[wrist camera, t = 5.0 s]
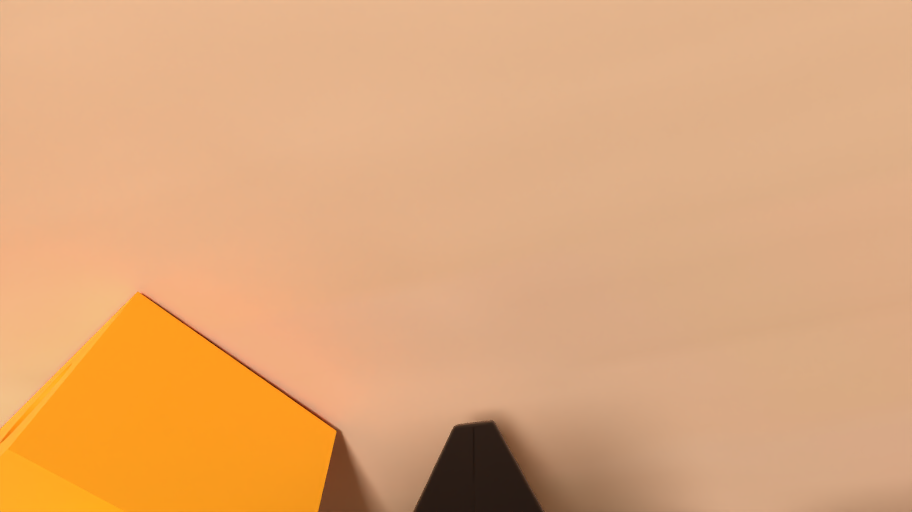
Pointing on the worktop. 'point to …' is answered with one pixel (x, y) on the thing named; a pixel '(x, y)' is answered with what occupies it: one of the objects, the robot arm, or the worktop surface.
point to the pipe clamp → (160, 430)
